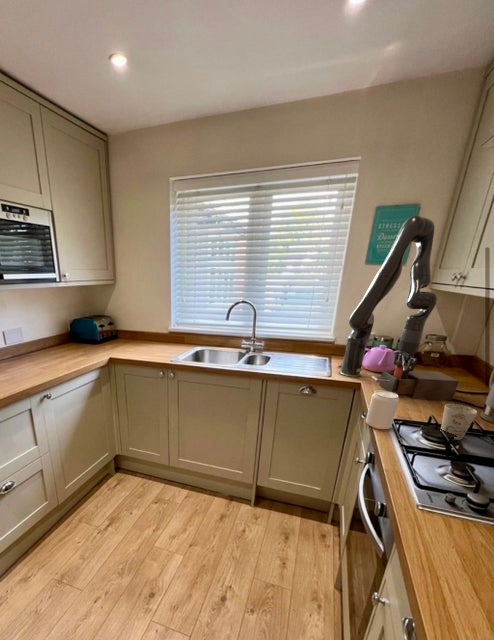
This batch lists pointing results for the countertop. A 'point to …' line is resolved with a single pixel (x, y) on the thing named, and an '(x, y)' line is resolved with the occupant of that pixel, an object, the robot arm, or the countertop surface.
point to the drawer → (396, 383)
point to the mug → (457, 419)
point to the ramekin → (398, 372)
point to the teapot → (379, 359)
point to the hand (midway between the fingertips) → (400, 377)
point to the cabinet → (433, 385)
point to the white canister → (382, 409)
